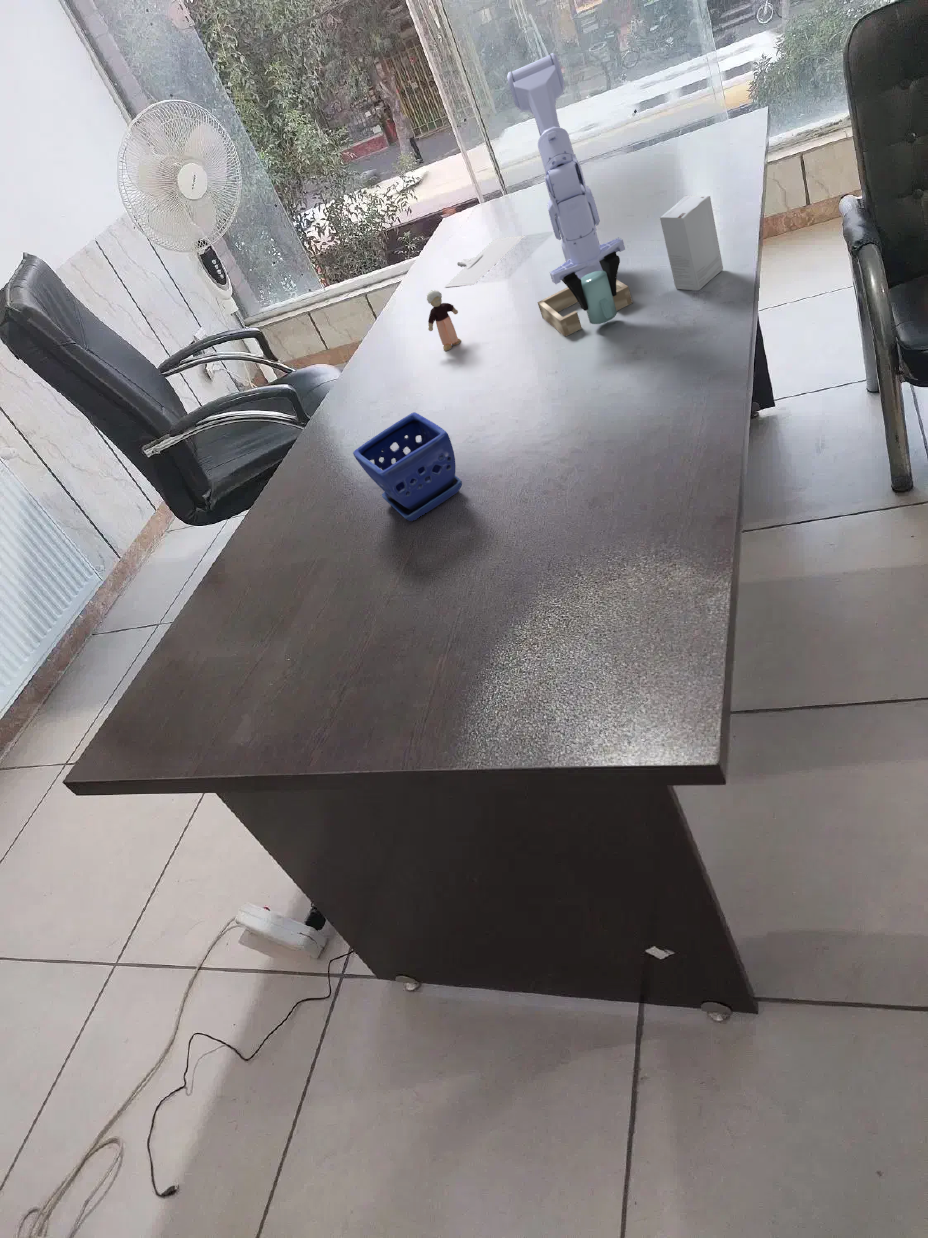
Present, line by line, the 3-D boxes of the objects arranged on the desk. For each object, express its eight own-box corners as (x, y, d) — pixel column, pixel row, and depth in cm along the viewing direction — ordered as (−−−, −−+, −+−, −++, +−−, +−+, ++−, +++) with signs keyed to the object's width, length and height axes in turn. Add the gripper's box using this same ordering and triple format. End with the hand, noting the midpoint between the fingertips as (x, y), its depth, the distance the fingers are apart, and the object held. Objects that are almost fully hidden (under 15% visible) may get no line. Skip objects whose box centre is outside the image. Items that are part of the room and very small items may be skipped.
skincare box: (700, 268, 172) (685, 193, 163) (725, 269, 168) (711, 193, 159) (674, 290, 170) (657, 215, 161) (698, 292, 165) (683, 215, 156)
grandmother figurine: (447, 354, 188) (424, 299, 180) (436, 352, 191) (413, 299, 183) (471, 335, 191) (450, 280, 183) (460, 333, 193) (438, 280, 186)
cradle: (542, 317, 183) (537, 302, 181) (605, 285, 183) (601, 269, 181) (565, 336, 173) (560, 320, 171) (632, 302, 173) (628, 286, 170)
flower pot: (409, 533, 142) (379, 475, 134) (379, 505, 152) (349, 449, 145) (475, 490, 144) (449, 430, 136) (441, 465, 154) (414, 408, 147)
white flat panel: (483, 242, 233) (482, 238, 232) (556, 233, 219) (555, 229, 218) (433, 290, 221) (431, 285, 220) (507, 284, 207) (505, 279, 206)
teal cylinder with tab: (599, 330, 165) (587, 291, 160) (585, 318, 171) (574, 280, 166) (625, 318, 165) (615, 278, 160) (611, 306, 171) (600, 267, 166)
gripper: (551, 255, 156) (572, 324, 164) (623, 219, 155) (641, 289, 164) (538, 246, 161) (559, 313, 170) (608, 211, 161) (626, 280, 169)
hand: (598, 301), depth 167 cm, fingers closed on teal cylinder with tab, 5 cm apart
